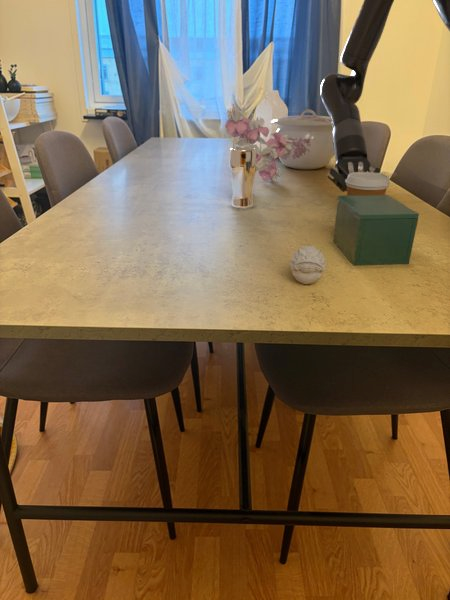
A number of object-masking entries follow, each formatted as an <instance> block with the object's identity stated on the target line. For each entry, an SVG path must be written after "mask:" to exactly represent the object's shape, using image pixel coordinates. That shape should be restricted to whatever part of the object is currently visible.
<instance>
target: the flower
mask: <svg viewBox="0 0 450 600" xmlns="http://www.w3.org/2000/svg"><path fill="white" fill-rule="evenodd" d="M245 114H246V108H245V107H242V109H241V110H240V107H238V106H236V105H235V104H234V103H232V108H229V109H227V110H226V115H227V118H228V119H227V120H226V121H225V124H224V127H225V129H226V133H227V134H229V135H231V136H232V137H233V139H232V147H236V145H238V147H254V148H256V171H258V175H259V176H260V177H261V180H263V181H273V182H276V181H277V178H280V176H281V173H280V171H281V168H279V167H277V162H276V160H277V158H279V157H280V158H281V157H282V156H283V155H284V154H286V153H288V152H287V150H291V149H292V147H291V145H292V144H291V143H292V140H289V139H286V137H287V136H288V135H283V136H281V134H280V133H279V132H273V133H272V134H271V135H273V136H274V137H275V139H271V138H270V139H269V140H268V141H267V142H266V141H264V140H263V139H262V138H261V137H260V132H261V133H262V134H263V135H264V136H265V137H267V136H268V134H269V129H268V127H262V126H263V124H264V123H265V122H264V119H262V118H261V116H260V120H259V119H258V117H257V118H256V120H255V118H254V113H251V116H252V119H249V118H247V117H245ZM256 141H258V142H260V150H259V148H258V147H257V145H256V144H255V145H254V143H256ZM286 142H289V143H286ZM261 143H262V144H266V145H267V148H265V149H264V150H263V151H262V152H261ZM275 148H276V149H275ZM273 149H275V151H274V150H273ZM266 155H269V157H271V158H272V159H275V160H270V159H263V160H262V156H266Z"/></svg>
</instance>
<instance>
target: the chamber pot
mask: <svg viewBox="0 0 450 600" xmlns="http://www.w3.org/2000/svg"><path fill="white" fill-rule="evenodd" d="M307 113H310V114H307ZM271 122H272V123H274V124H276V125H277V131H276V132H279V133H280V134H281V136H283V135H288V136H287V137H286V139H289V140H292V143H291V144H292V145H291V147H292V149H291V150H287V152H288V153H286V154H284V155H283V156H282V157H281V158H280V157H278V160H279V161H280V162H281V164H282V165H283V166H285V167H287V168H289V169H294V170H302V171H303V170H304V171H311V170H318V169H321V168H324V167H326V166H328V165H329V163H330V162H331V161H332V159H333V158H334V157H335V152H334V146H333V129H332V122H331V118H330V116H327V115H320V114H317V113H316V112H315V111H314V110H312V109H310V108H309V109H305V110H303V111H302V112H301V114H296V115H288V116H286V117H281V118H277V119H274V120H272V121H271ZM274 139H275V137H274ZM286 143H289V142H286ZM275 149H276V148H275Z"/></svg>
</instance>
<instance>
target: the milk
mask: <svg viewBox="0 0 450 600" xmlns="http://www.w3.org/2000/svg"><path fill="white" fill-rule="evenodd" d="M260 116H261V118H262V119H264V122H265V123H264V124H263V126H262V127H268V129H269V134H268V136H267V137H265V136H264V135H263V134H262V133H261V132H260V137H261V138H262V139H263V140H264V141H266V142H267V141H268V140H269V139H270V138H271V139H274V136H273V135H271V134H272V133H273V132H276V131H277V125H276V124H274V123H272V122H271V121H272V120H274V119H277V118H281V117H286V116H289V108H288V106H287V104H286V103H285V102H284V101H283V99H282V98H281V96H280V92H279V90H278V89H274V90H273V89H272V90H270V89H269V90H266V93H265V97H264V98H263V99H261V102H259V104H258V105H257V106H256V108H255V118H254V120H256V118H257V117H258V119H259V120H260ZM255 144H256V145H257V147H258V148H259V150H260V142H258V141H256V143H254V145H255ZM265 148H267V145H266V144H262V143H261V152H262V151H263V150H264V149H265ZM273 150H274V151H275V149H273Z"/></svg>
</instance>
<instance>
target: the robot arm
mask: <svg viewBox="0 0 450 600" xmlns="http://www.w3.org/2000/svg"><path fill="white" fill-rule="evenodd" d="M431 1H432V3H433V5H434V8H435V10H436V11H437V13H438V15H439V17H440V19H441V21H442V23H443V24H444V26H445V27H446V29H447V30H448V31H449V32H450V0H431ZM394 2H395V0H363V2H362V5H361V6H360V10H359V12H358V15H357V17H356V20H355V22H354V24H353V26H352V29H351V30H350V32H349V36H348V38H347V40H346V43H345V45H344V47H343V50H342V53H341V56H340V62H341V64H342V65H343V66H344V67H346V68H348V69H349V70H351V74H350V75H348V74H343V73H337V72H332V73H328V74H327V75H326V76H325V77H324V78H323V80H322V82H321V84H320V98H321V100H322V104H323V106H324V108H325V110H326V112H327V115H328V117H330V118H331V122H332V129H333V146H334V152H335V155H334V158H335V165H334V167H331V168H330V169H329V170H328V173H327V176H326V177H327V178H328V180H330V181H331V182H332V183H333V185H335V186H336V187H337V188H338V189H339V190H340V191H341V192H343V193H344V192H347V185H346V182H345V180H346V179H347V177H348V174H350V173H354V172H374V173H381V168H379V167H375V168H374V167H373V166H371V162H370V161H369V158H368V152H367V151H368V150H367V145H366V137H365V132H364V129H363V126H362V120H361V113H360V109H359V107H358V106H357V103H358V102H359V101H360V99H361V97H362V94H363V91H364V85H365V79H366V76H367V71H368V68H369V64H370V63H371V62H370V61H371V59H372V57H373V55H374V53H375V51H376V49H377V48H378V47H377V46H378V45H379V42H380V40H381V38H382V34H383V33H384V31H385V27H386V24H387V22H388V21H387V20H388V17H389V14H390V11H391V9H392V6H393V4H394Z"/></svg>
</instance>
